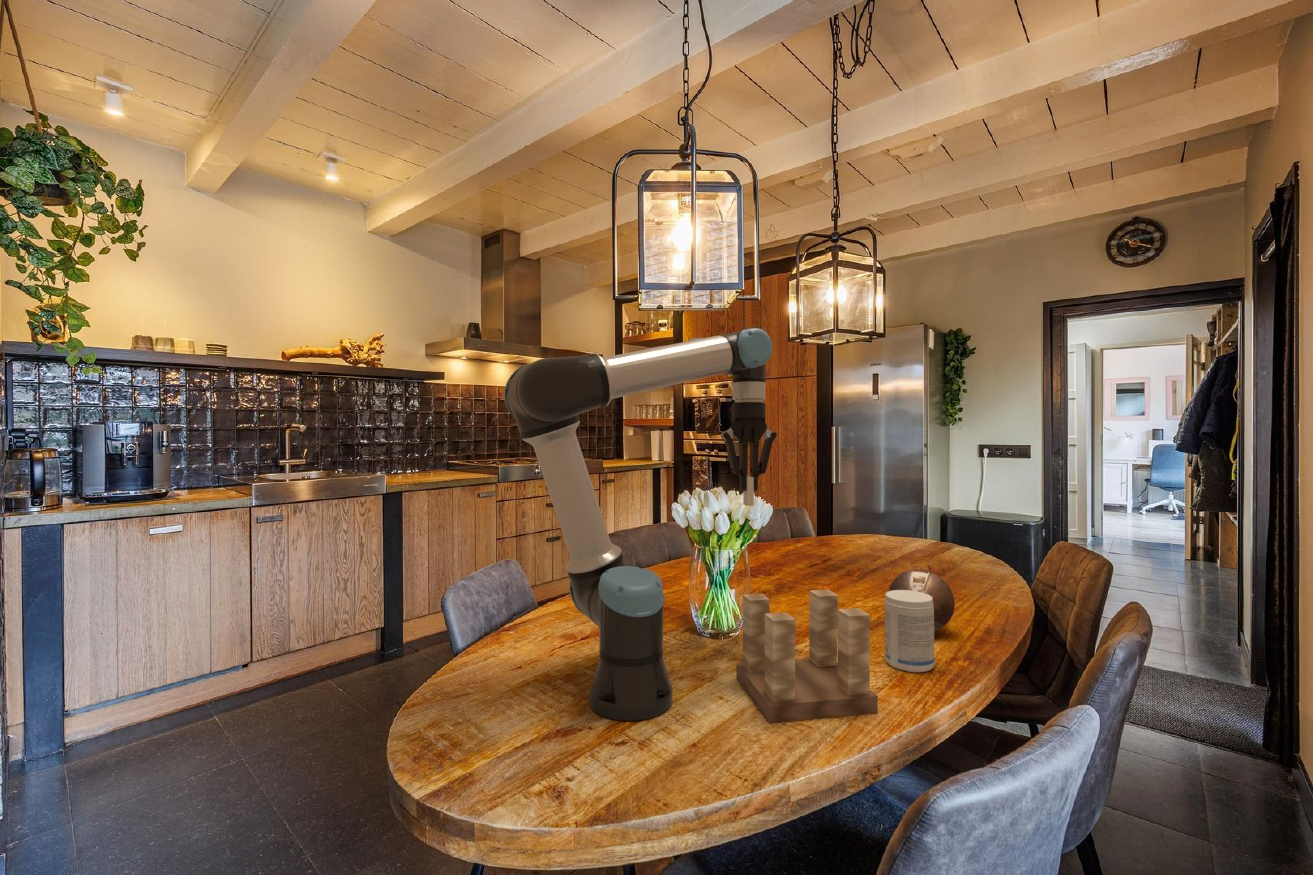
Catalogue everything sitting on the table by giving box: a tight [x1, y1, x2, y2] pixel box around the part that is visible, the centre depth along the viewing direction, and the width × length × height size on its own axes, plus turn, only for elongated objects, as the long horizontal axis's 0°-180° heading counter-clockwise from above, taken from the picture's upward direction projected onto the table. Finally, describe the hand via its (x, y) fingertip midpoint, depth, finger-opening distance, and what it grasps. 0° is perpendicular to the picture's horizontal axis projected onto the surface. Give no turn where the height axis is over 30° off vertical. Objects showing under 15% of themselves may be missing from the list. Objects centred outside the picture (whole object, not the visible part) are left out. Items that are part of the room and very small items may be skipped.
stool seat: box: [735, 593, 879, 724], centre depth 109 cm, size 20×18×17 cm
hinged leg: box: [808, 589, 839, 667], centre depth 117 cm, size 4×4×14 cm
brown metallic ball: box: [887, 568, 956, 632], centre depth 144 cm, size 15×15×15 cm
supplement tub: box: [884, 590, 935, 673], centre depth 123 cm, size 10×10×15 cm
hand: (748, 504), depth 133 cm, fingers closed
